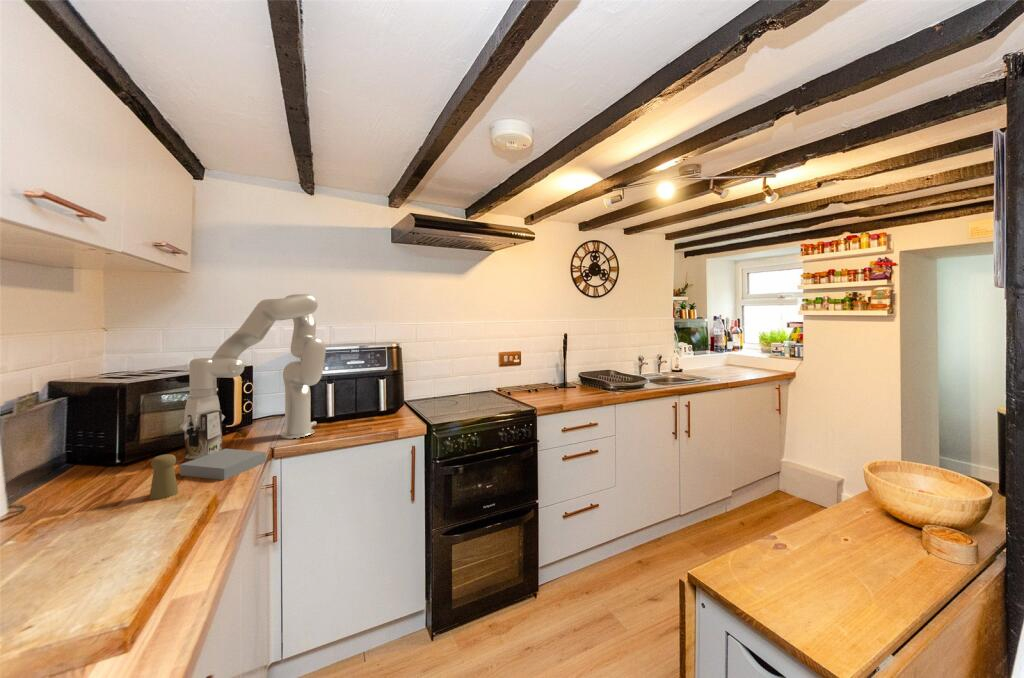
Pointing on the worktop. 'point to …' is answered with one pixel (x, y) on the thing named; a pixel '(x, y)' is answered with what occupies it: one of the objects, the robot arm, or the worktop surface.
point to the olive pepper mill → (163, 477)
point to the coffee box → (206, 436)
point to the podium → (222, 464)
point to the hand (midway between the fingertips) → (203, 442)
